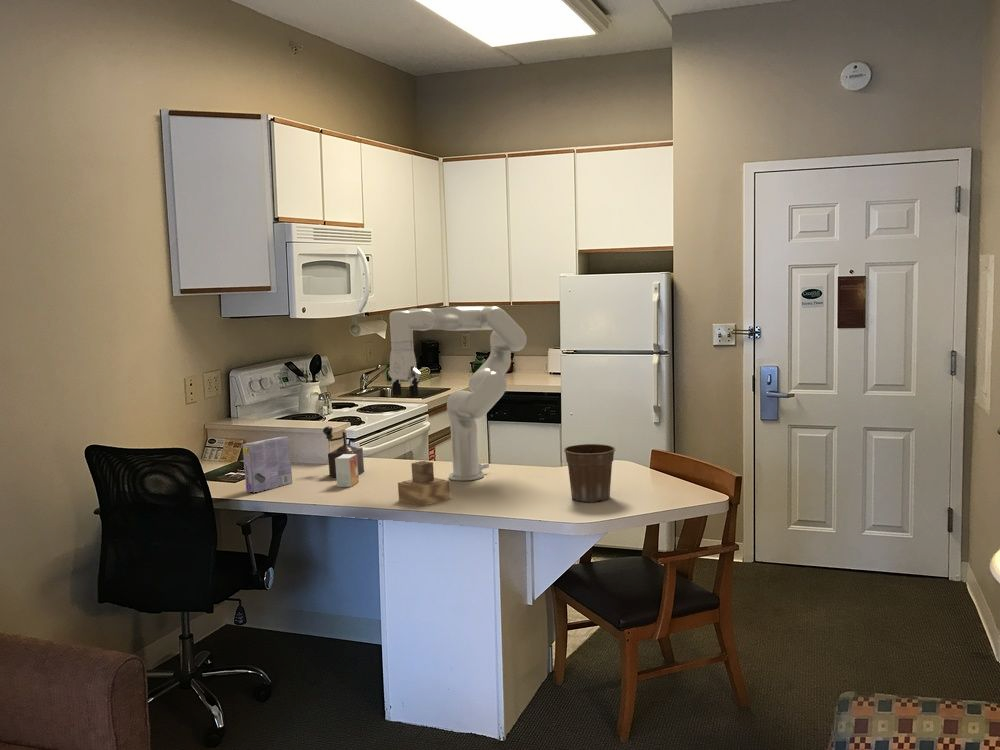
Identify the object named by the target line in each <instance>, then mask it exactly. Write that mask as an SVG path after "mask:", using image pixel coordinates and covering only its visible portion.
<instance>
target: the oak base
mask: <svg viewBox="0 0 1000 750" xmlns="http://www.w3.org/2000/svg"><path fill="white" fill-rule="evenodd" d="M397 488H398V490H397V492H398V501H399V502H404V503H408V504H411V505H416V506H418V507H423V505H424V506H426V505H427V504H428V505H431V504H434V503H438V502H442V501H446V500H450V499H451V493H450V492H451V489H450V480H446V479H444V478H443V479H442V478H438V477H434V481H429V482H425V483H418V482H413V480H412V479H407V480H404V481H400V482H397Z"/></svg>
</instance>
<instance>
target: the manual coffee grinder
mask: <svg viewBox="0 0 1000 750" xmlns="http://www.w3.org/2000/svg"><path fill="white" fill-rule="evenodd" d="M333 430H334V429H333V427H331V426H325V427H324V428H323V429H322V433H323V434H324V435H326V436H325V437H326V440H327V441H328V442H334V441H339V440H342V439H343V444H342V445H341V446H339V447H338V448H336V449H334V450H332V451H330V452H329V453H327V459H328V471H329V478H330V477H336V465H335V458H338V457H339V456H341V455H343V454H357V461H358V475H359V476H360V475H362V474H364V473H365V467H364V465H365V464H364V461H365V460H364V451H363V450H364V449H363V447H356V446H353V445H350V443H347V439H346V438H347V433H346V432H345V431H343V432H342V435H341V436H339V437H335V438H333V437H334V436H333ZM363 472H364V473H363Z"/></svg>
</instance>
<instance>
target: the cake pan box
mask: <svg viewBox="0 0 1000 750" xmlns="http://www.w3.org/2000/svg"><path fill="white" fill-rule="evenodd" d="M242 454H243V455H242V456H243V467H244V468H243V469H244V478H245V479H244V480H245V491H246V492H247V493H250V492H253V493H252V494H256V493H255V492H257V493H260V492H259V491H261V492H265V491H268V489H269V490H273V489H277V488H279V486H280V487H282V486H283V485H284V486H287V485H291V484H290V483H292V484H293V473H292V464H291V463H292V461H291V448H290V437H289V436H279V437H273V438H268V439H262V440H258V441H257V440H256V441H253V442H247V443H242ZM276 487H277V488H276ZM272 488H273V489H272ZM264 490H265V491H264Z"/></svg>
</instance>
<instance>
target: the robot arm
mask: <svg viewBox="0 0 1000 750" xmlns="http://www.w3.org/2000/svg"><path fill="white" fill-rule="evenodd" d="M389 327H390V328H389V329H390V330H389V331H390V342H391V343H390V345H391V351H390V354H389V370H388V371H387V373H388V377H389V380H390V381H391V382H390V383H391V387H392V396H399V395H400V396H401V395H402V385H401V384H402V383H401V381H408V383H409V387H408V388H409V397H410V398H416V397H417V398H418V397H419V388H418V387H419V385H420V383H419V382H420V380H421V376H422V375H421V374H422V373H421V371H419V370H418V368H417V360H416V354H415V351H414V335H413V333H414V332H413V331H423V332H424V331H428V330H442V331H452V332H453V331H457V332H459V331H492V332H491V334H490V337H489V342H490V353H489V356H488V357H487V359H486V360H485V361H484V362H483V363H482V365H480V367H479V368H478V369H477V370H476V371H474V373H473V374H472V376H470V378H469V380H468V384H467V385H468V388H469V390H470V391H469V390H462V389H461V390H455V391H453V392H451V394H450V395H448V398H447V400H446V401H447V402H446V411H447V414H448V418H449V424H450V427H449V428H450V441H451V443H450V445H451V459H452V460H451V461H452V472H451V473H450V474H448V478H449V480H452V481H459V482H461V481H462V482H463V481H475V480H478V479H482V478H484V476H485V475H484V474H485V473H484V471H483V470H484V469H489V467H490V464H489V463H488V462H484V463H481V462H480V457H479V443H478V442H479V440H478V438H479V437H478V426H477V420H478V419H479V420H480V419H482V418H483V417H484V416H486V415H487V414H488V412H489V411H490V410H491V409H492V408H493V407H494V406H495V405H496V404H497V402H498V401H499V400H500V399H501V398H502V397H503V396H504V395H505V392H506V389H507V384H508V383H507V379H506V377H505V375H506V373H508V371H509V369H510V367H511V363H512V358H511V356H512V355H511V354H512V352H519V351H521V350H523V349H524V348H525V346H526V345H527V341H528V340H527V339H528V338H527V335H526V332H525V330H524V329H523V328H522V327H521V326H520V325H519V324H518V323H517V322H516V321H515V320H514V319H513V318H512V317H511V316H510V315H509V314H508V313H507V312H506V311H505V310H504V309H503V308H501V307H499V306H447V307H439V308H438V307H436V308H410V309H408V310H394V311H391V312H390V313H389Z"/></svg>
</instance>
